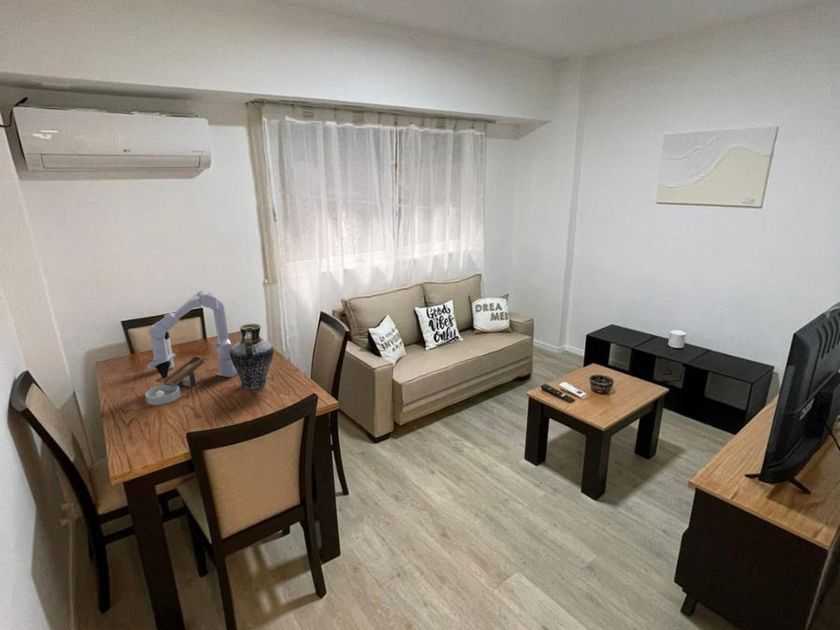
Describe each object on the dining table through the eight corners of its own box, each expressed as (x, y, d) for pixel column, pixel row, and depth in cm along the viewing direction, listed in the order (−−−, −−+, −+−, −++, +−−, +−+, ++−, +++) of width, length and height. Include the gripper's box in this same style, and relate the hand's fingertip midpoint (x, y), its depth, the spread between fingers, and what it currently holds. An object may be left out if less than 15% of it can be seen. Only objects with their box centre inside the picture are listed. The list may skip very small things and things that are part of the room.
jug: (233, 380, 222) (226, 322, 213) (274, 373, 229) (268, 317, 221) (234, 398, 204) (226, 336, 195) (279, 390, 211) (273, 330, 202)
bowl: (186, 393, 208) (185, 386, 207) (163, 406, 196) (162, 399, 195) (163, 389, 212) (162, 382, 211) (139, 402, 200) (138, 395, 198)
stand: (199, 383, 218) (197, 370, 216) (191, 388, 213) (189, 374, 211) (182, 381, 220) (180, 368, 218) (174, 385, 216) (172, 372, 214)
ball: (163, 389, 201) (158, 395, 199) (167, 394, 204) (162, 400, 201) (157, 388, 202) (152, 394, 200) (161, 393, 205) (156, 399, 202)
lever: (205, 363, 223) (202, 356, 221) (175, 387, 206) (172, 380, 204) (184, 361, 226) (182, 353, 224) (153, 384, 209) (150, 376, 207)
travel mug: (165, 371, 231) (159, 335, 225) (158, 369, 234) (152, 332, 228) (177, 367, 236) (171, 331, 230) (170, 365, 239) (164, 329, 233)
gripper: (165, 344, 215) (169, 370, 219) (139, 354, 201) (144, 382, 205) (177, 345, 213) (181, 371, 217) (152, 356, 200) (157, 384, 204)
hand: (164, 377), depth 211 cm, fingers closed
